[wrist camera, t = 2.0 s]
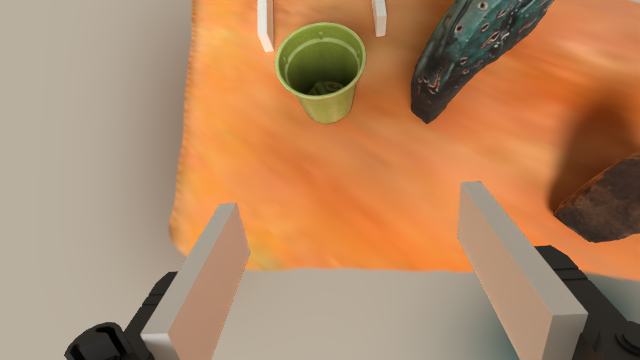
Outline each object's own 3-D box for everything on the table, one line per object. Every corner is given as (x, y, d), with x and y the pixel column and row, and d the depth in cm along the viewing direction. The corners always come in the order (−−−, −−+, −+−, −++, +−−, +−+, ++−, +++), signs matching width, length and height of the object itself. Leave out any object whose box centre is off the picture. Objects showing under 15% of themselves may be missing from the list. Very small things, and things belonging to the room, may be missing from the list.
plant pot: (304, 65, 45) (291, 15, 36) (373, 77, 43) (375, 28, 35) (282, 127, 42) (262, 88, 34) (354, 143, 40) (351, 106, 32)
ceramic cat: (503, 8, 43) (610, -207, 24) (547, 35, 41) (700, -176, 22) (395, 106, 41) (421, -46, 22) (436, 140, 39) (502, 3, 20)
